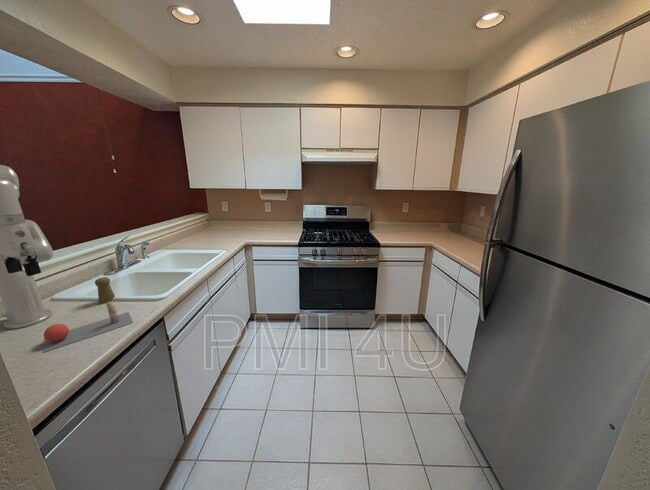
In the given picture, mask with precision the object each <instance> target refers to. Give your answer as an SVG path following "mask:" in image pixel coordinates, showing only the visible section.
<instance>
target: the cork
mask: <svg viewBox="0 0 650 490" xmlns="http://www.w3.org/2000/svg"><path fill="white" fill-rule="evenodd" d="M110 284H111V279H110V278H109V277H107V276H103V277H99V278H97V279H95V280H94V285H95V286H96V287H97V295H98V304H100V305H102V304H103V305H104V304H105V305H106V303H108V302H111V301H112V300H113V298H114V297H115V298H116V296H115V294H114V293H115V292H114V291H113V289H112V287H111V285H110Z"/></svg>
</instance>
